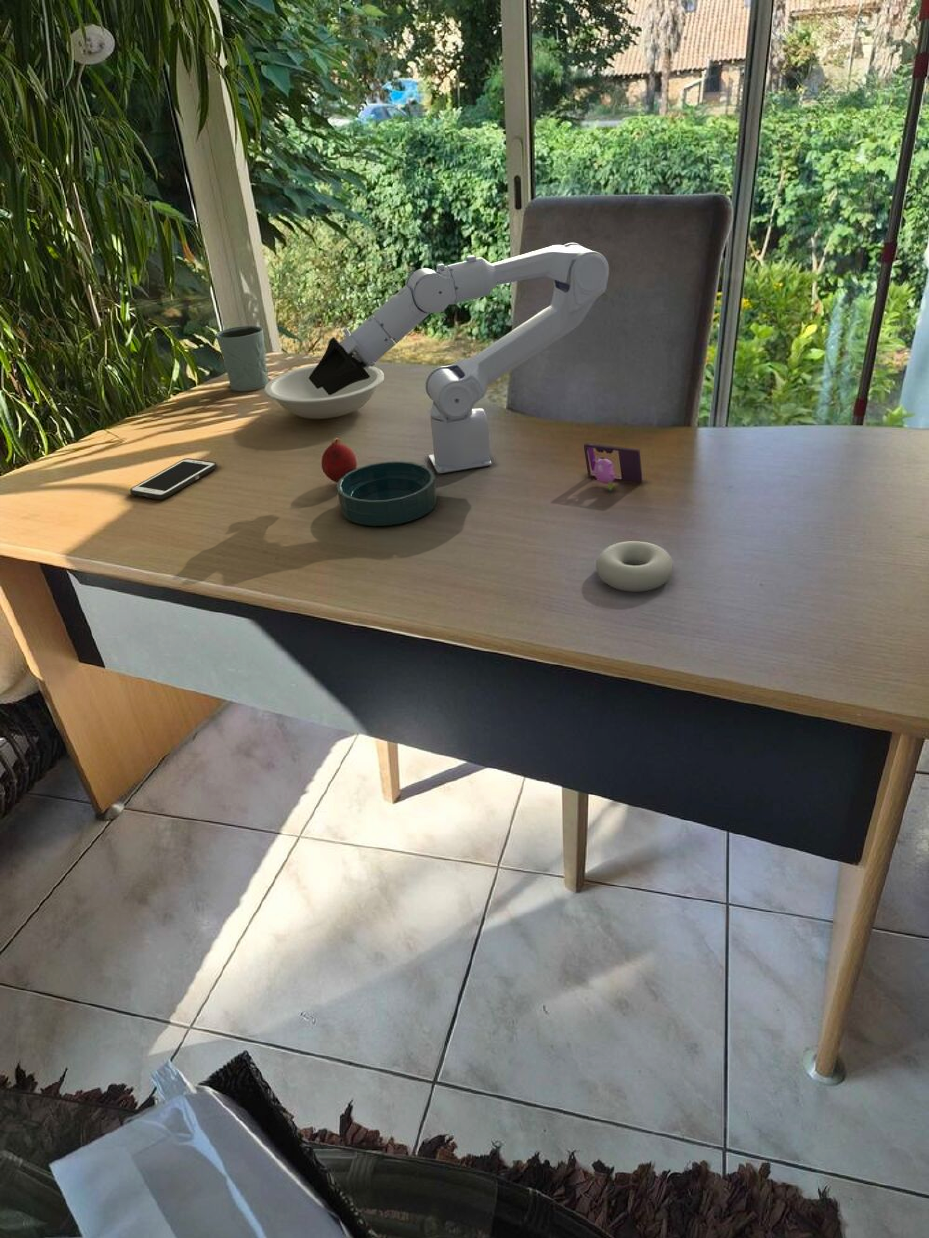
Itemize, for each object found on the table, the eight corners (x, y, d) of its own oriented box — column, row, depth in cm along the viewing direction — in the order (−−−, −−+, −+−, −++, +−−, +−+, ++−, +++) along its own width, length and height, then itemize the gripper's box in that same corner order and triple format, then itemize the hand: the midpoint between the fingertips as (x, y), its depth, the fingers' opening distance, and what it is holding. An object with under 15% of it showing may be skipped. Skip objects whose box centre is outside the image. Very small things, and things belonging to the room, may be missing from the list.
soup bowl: (382, 429, 167) (378, 396, 164) (259, 438, 168) (252, 405, 165) (392, 389, 187) (388, 359, 184) (282, 397, 189) (276, 366, 185)
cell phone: (129, 495, 149) (127, 489, 149) (187, 462, 160) (185, 457, 160) (162, 501, 146) (161, 495, 146) (219, 467, 157) (218, 462, 156)
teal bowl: (426, 480, 146) (423, 455, 143) (446, 518, 133) (443, 491, 131) (336, 495, 143) (331, 470, 141) (348, 535, 131) (343, 508, 128)
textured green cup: (221, 392, 194) (208, 338, 188) (238, 378, 203) (226, 325, 196) (263, 391, 193) (252, 336, 186) (279, 377, 201) (269, 324, 194)
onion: (353, 491, 144) (346, 445, 140) (320, 490, 145) (312, 445, 141) (363, 477, 149) (357, 432, 144) (331, 476, 150) (324, 432, 146)
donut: (660, 555, 119) (588, 562, 119) (662, 533, 117) (589, 539, 117) (682, 593, 111) (604, 600, 110) (684, 569, 109) (605, 576, 108)
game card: (641, 446, 134) (585, 440, 138) (630, 469, 131) (574, 462, 135) (643, 478, 139) (590, 471, 143) (634, 501, 136) (579, 493, 140)
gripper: (376, 319, 143) (314, 374, 145) (357, 298, 129) (290, 359, 131) (403, 353, 144) (341, 407, 146) (388, 335, 129) (320, 396, 131)
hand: (319, 387), depth 138 cm, fingers open, 7 cm apart
